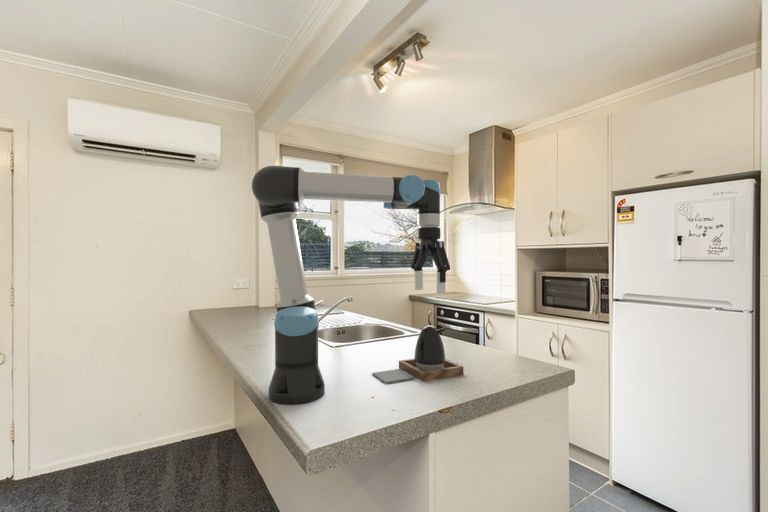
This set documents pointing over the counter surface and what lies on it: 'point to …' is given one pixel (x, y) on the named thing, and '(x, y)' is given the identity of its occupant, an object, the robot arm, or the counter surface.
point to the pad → (393, 376)
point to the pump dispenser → (430, 349)
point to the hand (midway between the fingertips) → (429, 291)
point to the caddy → (447, 371)
